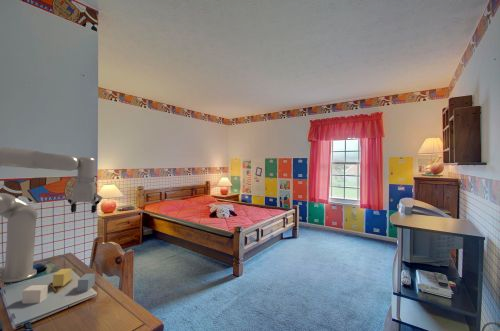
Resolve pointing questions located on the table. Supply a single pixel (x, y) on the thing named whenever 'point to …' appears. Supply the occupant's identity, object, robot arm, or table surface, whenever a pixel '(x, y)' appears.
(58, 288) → the shard
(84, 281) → the slate brick
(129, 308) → the table surface
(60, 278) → the mustard brick
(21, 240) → the robot arm
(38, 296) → the cream brick
